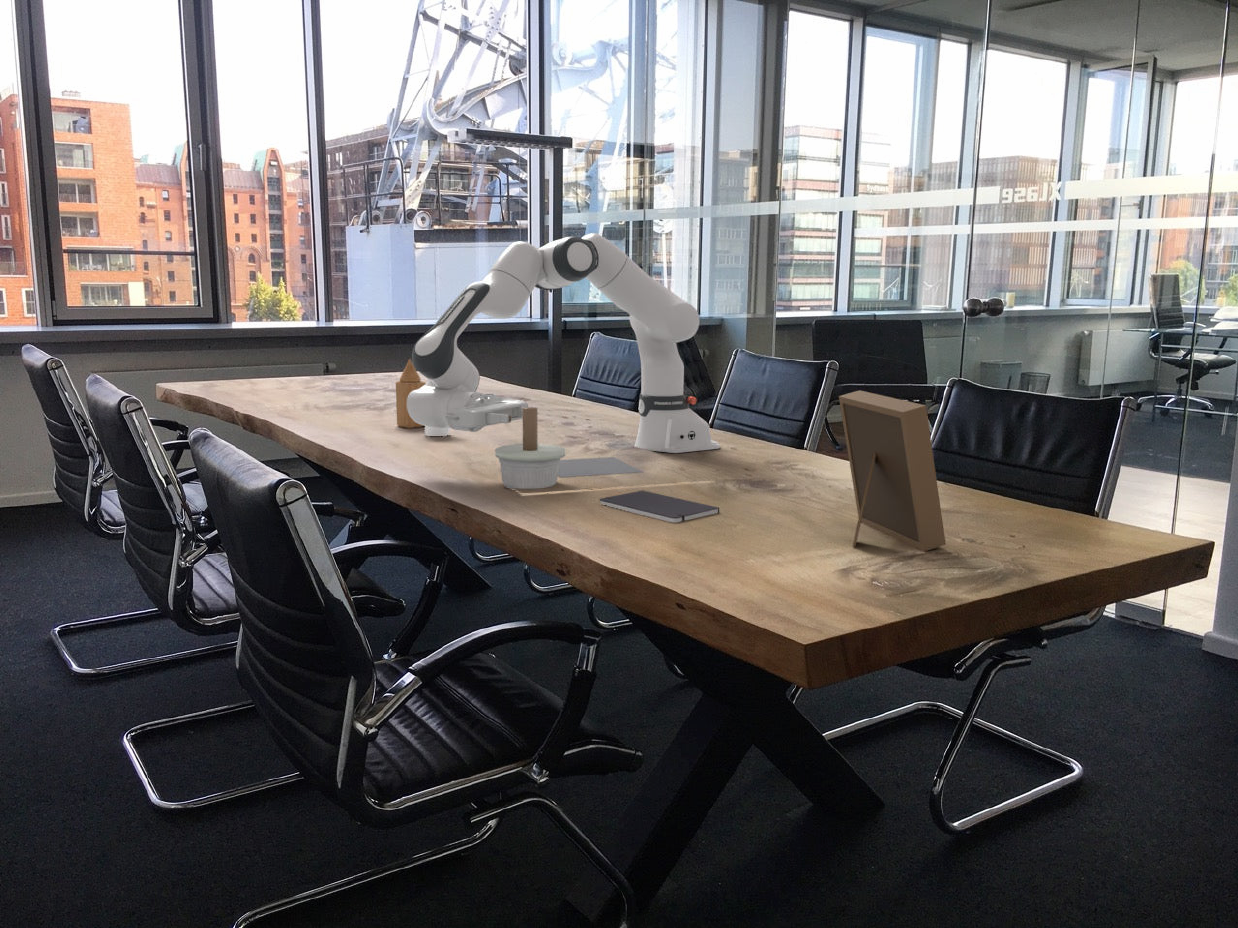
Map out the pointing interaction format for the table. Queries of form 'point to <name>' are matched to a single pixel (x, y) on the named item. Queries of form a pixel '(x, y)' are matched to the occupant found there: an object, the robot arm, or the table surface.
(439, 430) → the white cup
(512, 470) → the ramekin
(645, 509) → the notebook
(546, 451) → the lid
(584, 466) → the mat
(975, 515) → the table surface
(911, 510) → the photo frame
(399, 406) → the decorative item
